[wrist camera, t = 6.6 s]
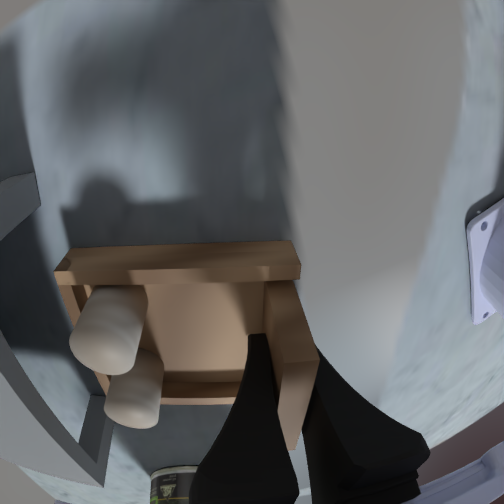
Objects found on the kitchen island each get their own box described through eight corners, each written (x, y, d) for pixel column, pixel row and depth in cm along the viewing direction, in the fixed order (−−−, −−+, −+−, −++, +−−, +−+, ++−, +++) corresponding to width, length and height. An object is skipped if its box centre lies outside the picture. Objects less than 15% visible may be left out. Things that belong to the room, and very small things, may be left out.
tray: (291, 240, 12) (329, 333, 8) (278, 373, 16) (294, 458, 12) (71, 248, 11) (12, 332, 7) (115, 375, 15) (97, 455, 11)
